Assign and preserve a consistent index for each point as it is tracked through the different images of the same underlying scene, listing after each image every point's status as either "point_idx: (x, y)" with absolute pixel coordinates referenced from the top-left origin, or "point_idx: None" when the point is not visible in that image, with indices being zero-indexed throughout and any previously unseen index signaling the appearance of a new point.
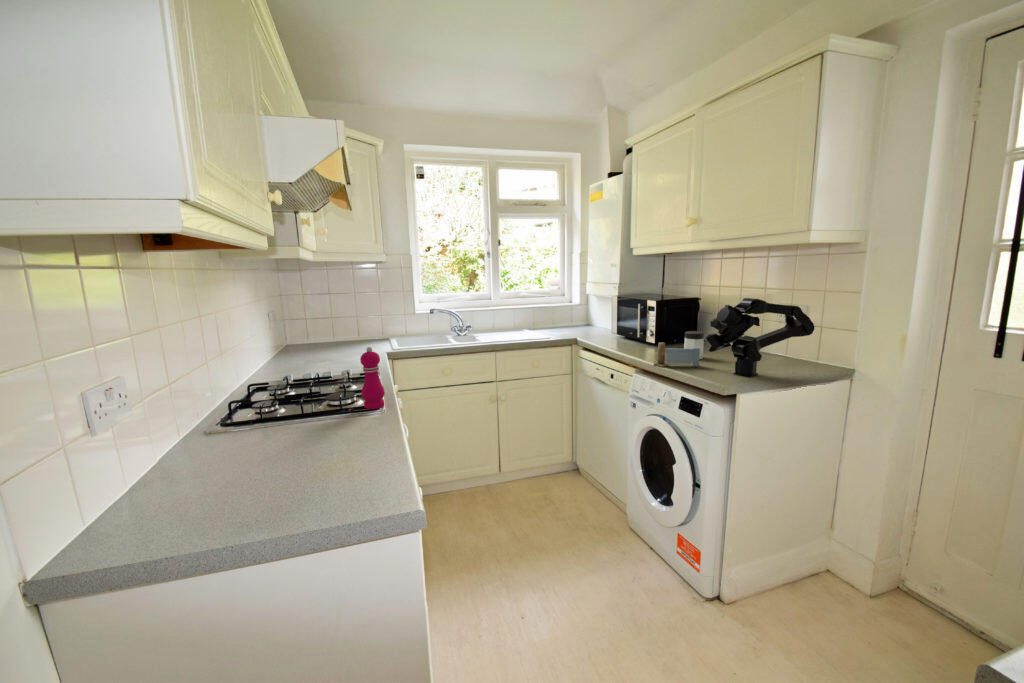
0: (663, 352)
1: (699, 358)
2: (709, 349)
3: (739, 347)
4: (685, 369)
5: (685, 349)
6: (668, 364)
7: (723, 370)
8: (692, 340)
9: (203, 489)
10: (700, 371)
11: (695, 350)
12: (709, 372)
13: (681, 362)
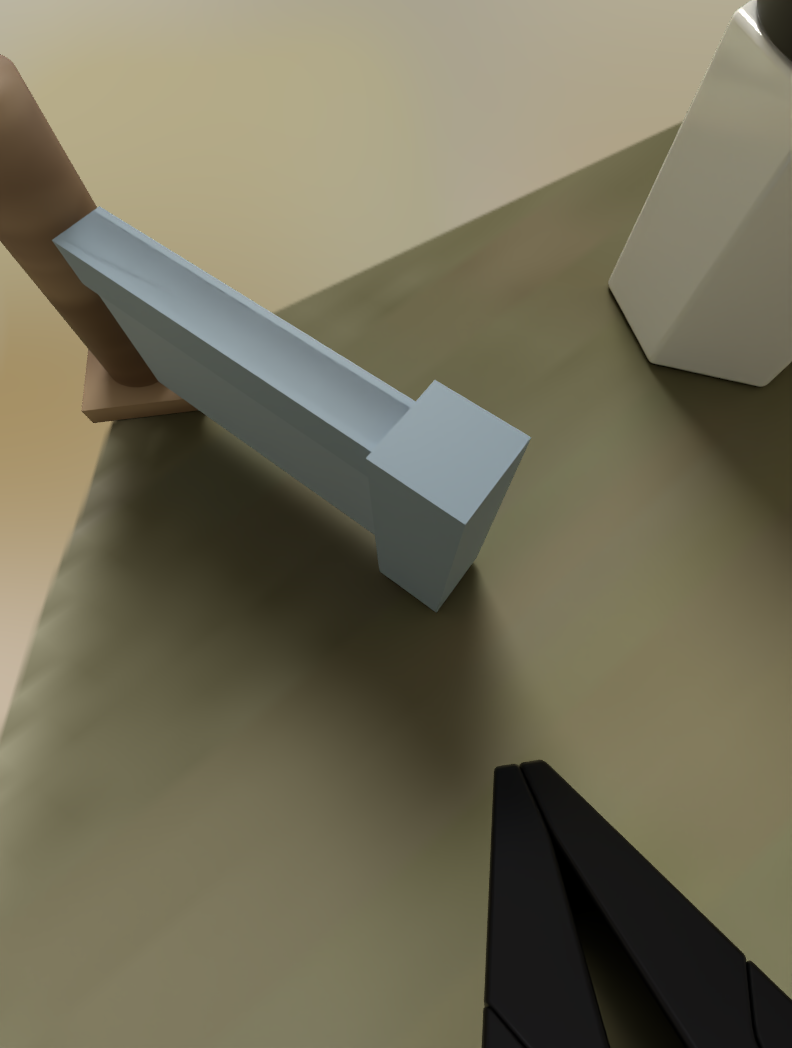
0: (39, 272)
1: (725, 374)
2: (493, 797)
3: None
4: (196, 616)
5: (265, 385)
6: None
7: None
8: (787, 105)
9: None
10: (248, 799)
11: (394, 495)
12: (295, 921)
13: (282, 468)
